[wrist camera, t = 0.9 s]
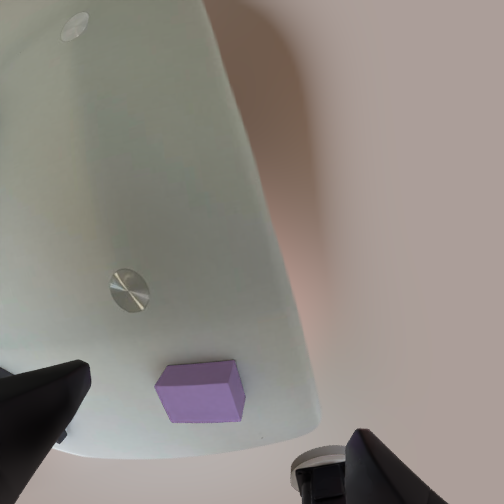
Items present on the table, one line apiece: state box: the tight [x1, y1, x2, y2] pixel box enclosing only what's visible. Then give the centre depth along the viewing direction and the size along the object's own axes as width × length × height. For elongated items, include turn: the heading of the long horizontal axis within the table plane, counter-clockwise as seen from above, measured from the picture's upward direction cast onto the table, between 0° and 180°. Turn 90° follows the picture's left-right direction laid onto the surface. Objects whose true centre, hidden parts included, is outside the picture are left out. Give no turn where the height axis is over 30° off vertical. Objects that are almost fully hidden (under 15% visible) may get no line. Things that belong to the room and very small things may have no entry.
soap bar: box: [154, 360, 246, 423], centre depth 21 cm, size 6×4×3 cm, turn 102°
